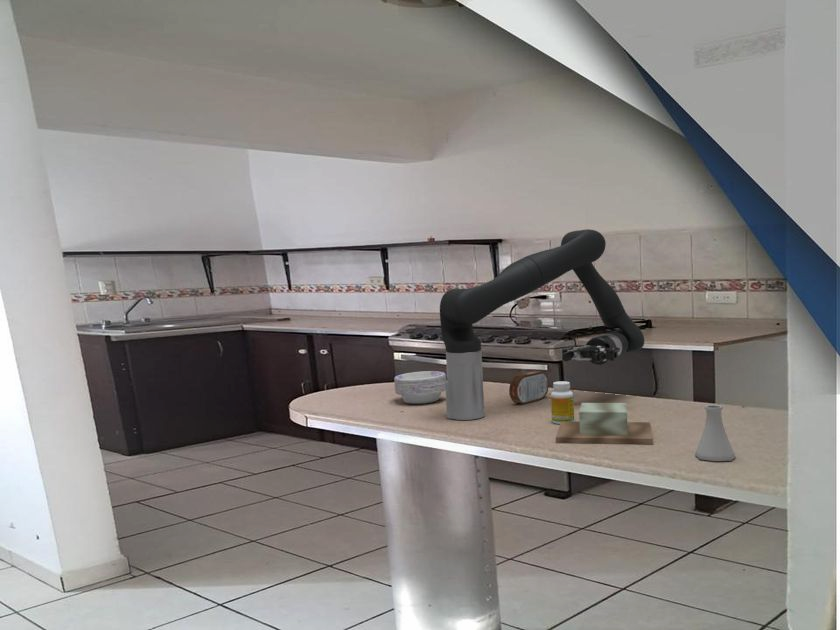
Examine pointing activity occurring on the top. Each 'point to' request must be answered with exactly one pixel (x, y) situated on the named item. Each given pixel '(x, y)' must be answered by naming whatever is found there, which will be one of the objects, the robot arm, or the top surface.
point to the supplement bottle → (562, 403)
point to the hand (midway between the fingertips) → (580, 357)
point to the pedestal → (604, 426)
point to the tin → (528, 387)
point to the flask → (714, 437)
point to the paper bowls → (420, 386)
